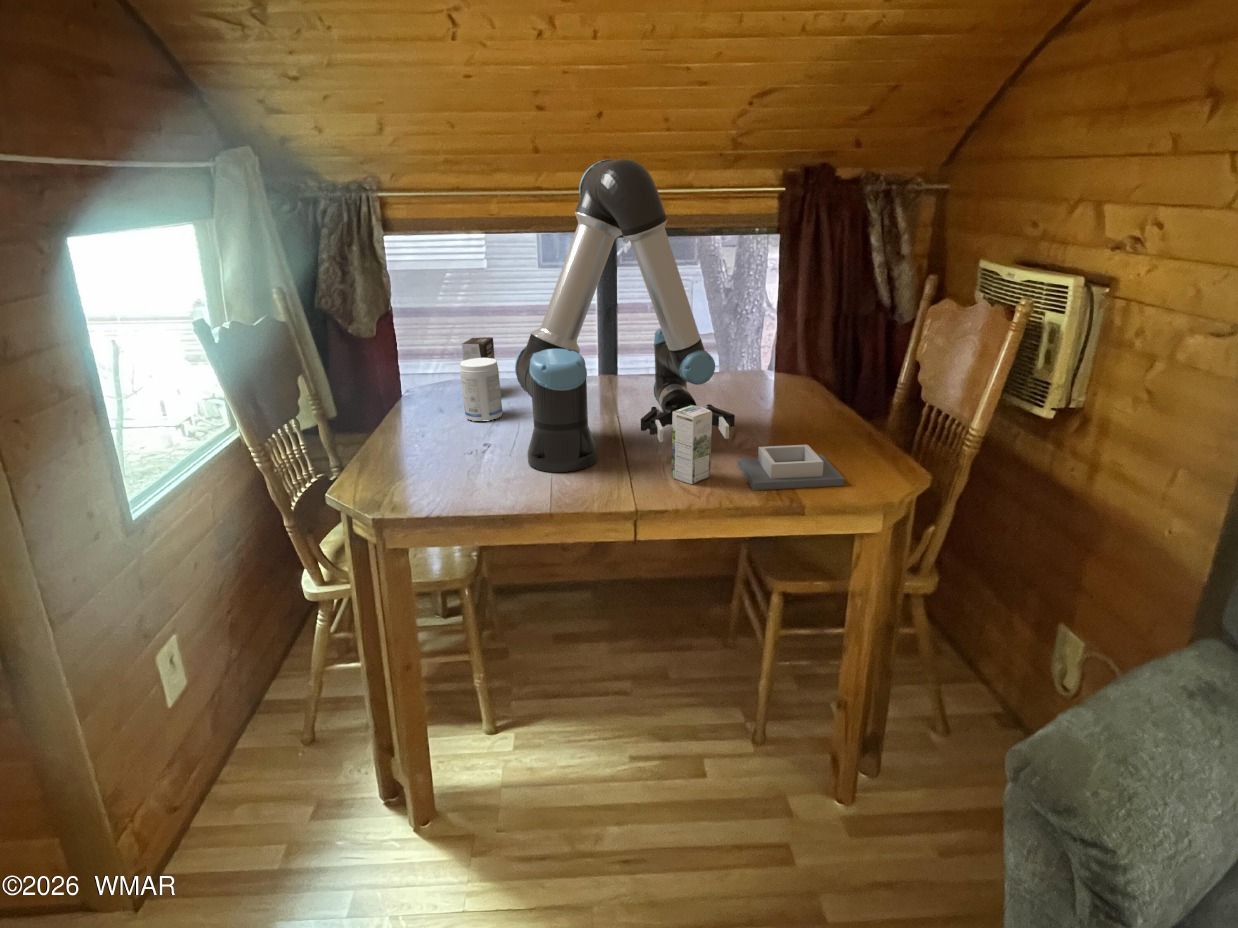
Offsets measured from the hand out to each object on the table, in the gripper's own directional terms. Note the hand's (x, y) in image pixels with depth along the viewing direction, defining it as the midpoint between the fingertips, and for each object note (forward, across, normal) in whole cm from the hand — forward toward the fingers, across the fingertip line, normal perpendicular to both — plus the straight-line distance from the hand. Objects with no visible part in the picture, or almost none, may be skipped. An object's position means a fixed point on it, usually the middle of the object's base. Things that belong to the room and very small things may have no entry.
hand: (694, 434), depth 161 cm
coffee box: (-66, +48, -9) cm, 83 cm away
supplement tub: (-46, +46, -9) cm, 66 cm away
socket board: (+5, -19, -8) cm, 21 cm away
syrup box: (+3, +1, -8) cm, 9 cm away
